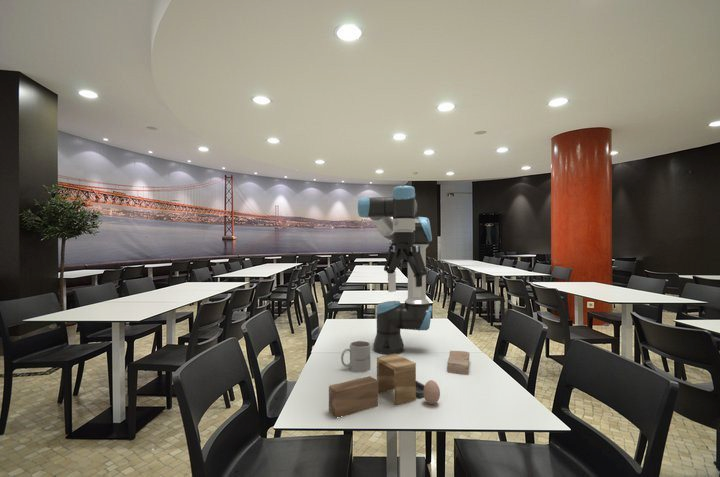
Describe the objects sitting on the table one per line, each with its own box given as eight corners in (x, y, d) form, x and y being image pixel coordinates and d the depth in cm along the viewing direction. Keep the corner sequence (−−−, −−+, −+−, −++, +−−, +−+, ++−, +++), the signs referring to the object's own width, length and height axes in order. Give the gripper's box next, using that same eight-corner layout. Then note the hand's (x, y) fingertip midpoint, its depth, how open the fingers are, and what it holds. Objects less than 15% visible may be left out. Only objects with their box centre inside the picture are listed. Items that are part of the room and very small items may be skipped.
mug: (369, 364, 143) (369, 340, 144) (371, 371, 135) (371, 346, 135) (340, 364, 142) (340, 341, 143) (341, 372, 134) (341, 347, 134)
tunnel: (376, 392, 116) (376, 357, 116) (395, 387, 120) (395, 353, 120) (396, 406, 106) (396, 367, 106) (415, 400, 110) (415, 363, 111)
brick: (468, 376, 131) (468, 364, 131) (446, 373, 134) (446, 361, 134) (469, 362, 147) (469, 351, 147) (449, 360, 150) (449, 349, 150)
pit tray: (398, 386, 121) (398, 381, 121) (411, 383, 124) (411, 378, 124) (418, 398, 111) (418, 393, 111) (432, 394, 114) (432, 389, 114)
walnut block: (328, 411, 103) (328, 385, 103) (369, 400, 111) (369, 376, 111) (336, 419, 99) (336, 391, 99) (378, 406, 106) (378, 381, 106)
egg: (440, 408, 105) (440, 384, 105) (423, 406, 106) (423, 383, 106) (439, 400, 110) (439, 377, 110) (423, 398, 111) (423, 376, 111)
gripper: (374, 232, 122) (374, 290, 122) (419, 230, 101) (419, 300, 100) (391, 232, 126) (391, 289, 126) (438, 230, 105) (438, 298, 104)
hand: (403, 294), depth 113 cm, fingers open, 13 cm apart
